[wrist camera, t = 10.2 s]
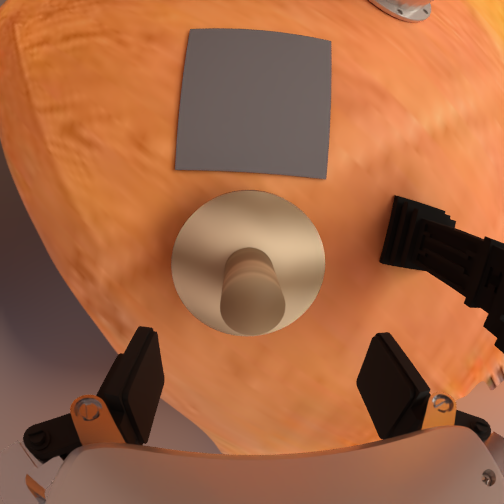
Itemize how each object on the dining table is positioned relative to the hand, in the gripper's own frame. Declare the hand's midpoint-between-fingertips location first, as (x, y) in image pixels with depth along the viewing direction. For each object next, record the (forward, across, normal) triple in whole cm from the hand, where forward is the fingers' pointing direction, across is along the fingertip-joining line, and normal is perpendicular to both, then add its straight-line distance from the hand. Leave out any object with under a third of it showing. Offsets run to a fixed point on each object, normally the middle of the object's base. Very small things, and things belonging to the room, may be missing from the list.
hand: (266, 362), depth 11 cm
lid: (+14, 0, +1) cm, 14 cm away
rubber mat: (+19, 0, -15) cm, 24 cm away
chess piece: (+19, -20, -2) cm, 27 cm away
